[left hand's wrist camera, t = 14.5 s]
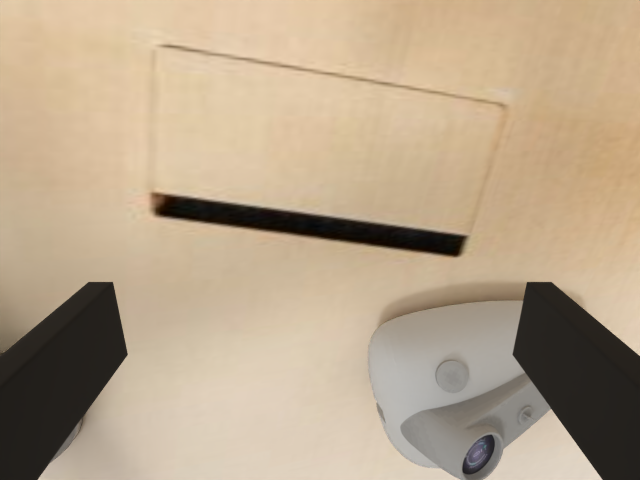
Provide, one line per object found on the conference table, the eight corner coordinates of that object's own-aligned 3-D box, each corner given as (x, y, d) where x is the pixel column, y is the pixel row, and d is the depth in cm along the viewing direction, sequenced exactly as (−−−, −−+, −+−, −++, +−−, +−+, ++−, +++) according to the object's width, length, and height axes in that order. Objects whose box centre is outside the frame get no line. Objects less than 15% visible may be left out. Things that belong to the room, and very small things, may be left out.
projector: (482, 451, 51) (541, 583, 38) (324, 385, 48) (326, 504, 34) (599, 319, 45) (723, 421, 31) (425, 229, 41) (479, 300, 27)
